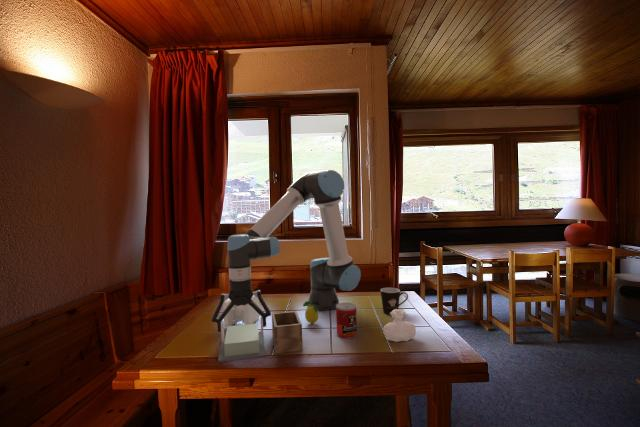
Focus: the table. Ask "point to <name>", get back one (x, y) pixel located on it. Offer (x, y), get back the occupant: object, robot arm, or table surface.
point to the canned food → (346, 320)
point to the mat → (244, 356)
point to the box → (287, 332)
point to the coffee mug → (391, 299)
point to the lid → (241, 340)
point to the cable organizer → (241, 313)
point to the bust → (399, 328)
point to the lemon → (311, 312)
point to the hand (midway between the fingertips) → (242, 338)
